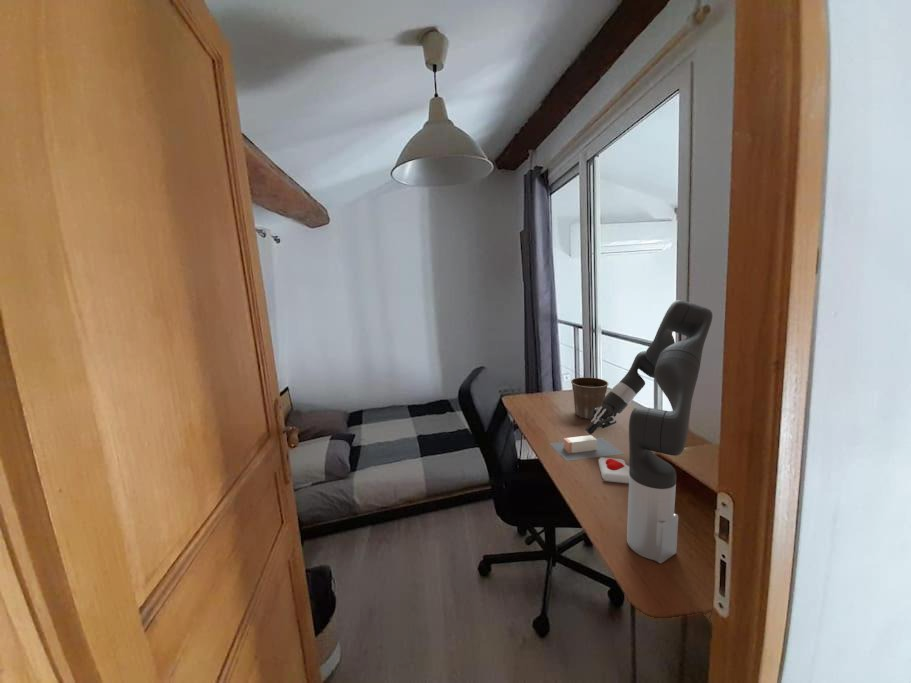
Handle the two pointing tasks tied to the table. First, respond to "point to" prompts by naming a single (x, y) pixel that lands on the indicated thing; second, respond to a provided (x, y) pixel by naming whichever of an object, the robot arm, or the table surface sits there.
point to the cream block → (580, 444)
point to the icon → (614, 470)
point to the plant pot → (588, 394)
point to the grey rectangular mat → (602, 450)
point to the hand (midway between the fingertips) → (587, 432)
